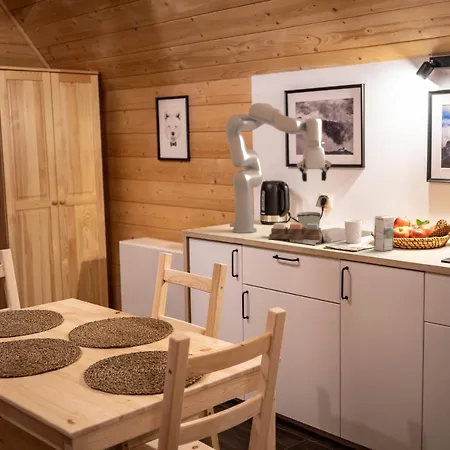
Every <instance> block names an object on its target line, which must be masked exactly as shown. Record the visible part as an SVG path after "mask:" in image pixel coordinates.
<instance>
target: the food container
mask: <svg viewBox="0 0 450 450" xmlns="http://www.w3.org/2000/svg"><path fill="white" fill-rule="evenodd" d="M296 218H297V221H298V222H297V223H302V227H304V229H305V228H307V224H308V223H311V224H319V225H320V222H321V221H320V220H321V218H322V213H321V212H318V211H317V212H316V211H302V212H298V213H297V214H296Z"/></svg>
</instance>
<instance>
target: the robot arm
mask: <svg viewBox="0 0 450 450" xmlns="http://www.w3.org/2000/svg"><path fill="white" fill-rule="evenodd" d="M265 124H266V125H268V126H271V127H273V128H274V129H276V130H278V131H280V132H284V133H285V134H290V135H305V147H304V148H303V154H302V160H301V161H299V162H298V163H297V164H296V166H297V168H298V170H299V172H300V173H301V179H302V181H303V183H304V182H305V183H306V182H308V177H307V176H308V174H307V172H308V170H315V169H316V170H318V169H320V170H321V171H322V172H321V181H322V182H323V181H324V182H326V181H327V180H326V179H327V173H328V171H329V170H330V167H331V166H332V162H330V161H329V160H327V159H326V155H325V149H324V147H323V146H324V145H325V144H326V143H325V142H324V141H323V121H322V118H320V117H311V118H305V117H304V118H302V117H301V118H300V117H298V118H297V117H294V118H293V117H290V116H287V115H284V114H283V112H282V110H280V109H279V108H276V107H274V106H273V105H272V104H269V103H267V102H266V103H265V102H262V103H261V102H260V103H259V102H256V103H253V104H252V105H251V106H250V107H249V109H248V113H235V114H233V115H231V116H229V117H228V118H227V120H226V122H225V126H224V128H225V135H226V138H227V143H228V147H229V154H230V159H231V163H232V165H233V166H234V167H235V168H238V169H239V170H238V171H236V172H235V173H234V174H233V176H232V186H233V192H234V222H230V224H229V227H230V228H231V227H232V230H231V231H232V233H239V234H243V233H244V234H246V233H247V234H248V233H249V234H251V233H256V232H258V231H257V230H258V229H257V228H256V227H254V195H253V191H252V189H253V188H258V187H259V186H261V185H262V182H263V172H262V169H261V167H262V166H261V162H260V158H259V157H260V156H259V154H258V153H257V151H256V150H254V149H251V148H247V145H246V141H245V137H244V136H243V134H242V131H244V132H247V131H254V130H256V129H259V127H261V126H263V125H265ZM241 168H243V169H241Z"/></svg>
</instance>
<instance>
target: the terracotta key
mask: <svg viewBox="0 0 450 450" xmlns="http://www.w3.org/2000/svg"><path fill="white" fill-rule="evenodd" d="M289 228H290V229H302V223H299V222H295V223H293V222H291V223H290V224H289Z"/></svg>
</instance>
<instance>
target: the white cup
mask: <svg viewBox="0 0 450 450" xmlns="http://www.w3.org/2000/svg"><path fill="white" fill-rule="evenodd" d="M344 230H345V233H344V234H345V243H347V244H361V243H362V234H363V220H362V219H345V220H344Z"/></svg>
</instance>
